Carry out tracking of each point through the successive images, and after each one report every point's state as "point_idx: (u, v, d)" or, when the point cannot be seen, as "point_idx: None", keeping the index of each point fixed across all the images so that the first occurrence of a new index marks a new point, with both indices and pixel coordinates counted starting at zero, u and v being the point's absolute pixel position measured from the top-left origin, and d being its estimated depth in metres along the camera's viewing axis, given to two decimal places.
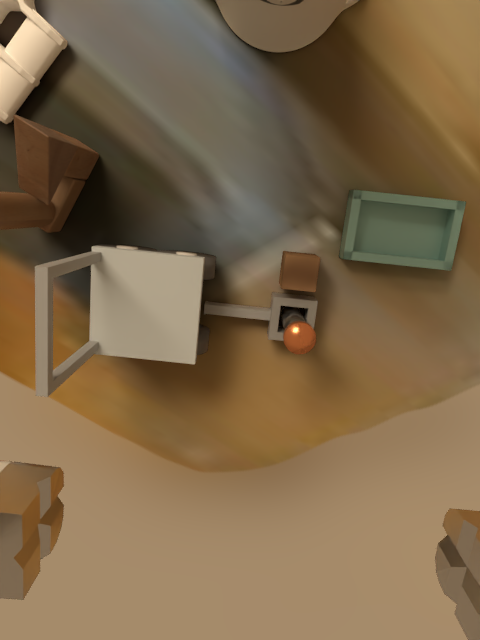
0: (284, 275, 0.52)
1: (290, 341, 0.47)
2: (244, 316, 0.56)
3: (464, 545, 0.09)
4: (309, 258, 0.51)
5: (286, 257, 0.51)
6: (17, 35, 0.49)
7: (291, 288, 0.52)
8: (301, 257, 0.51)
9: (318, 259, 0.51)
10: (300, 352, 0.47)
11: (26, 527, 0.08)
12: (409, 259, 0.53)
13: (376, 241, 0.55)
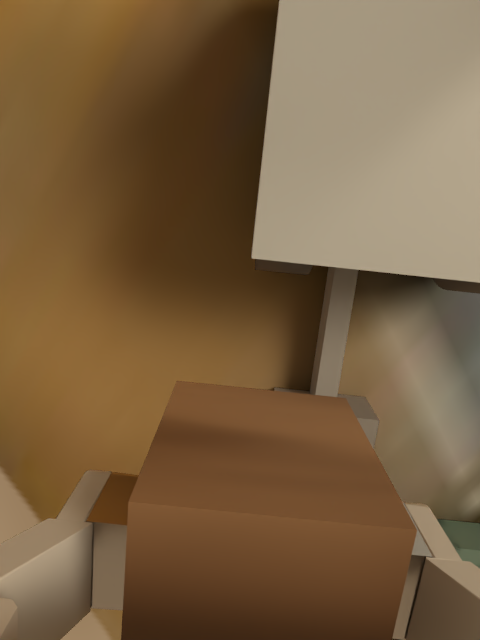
0: (385, 620, 0.07)
1: None
2: (325, 349, 0.24)
3: None
4: None
5: None
6: None
7: (333, 530, 0.06)
8: None
9: None
10: None
11: None
12: None
13: None
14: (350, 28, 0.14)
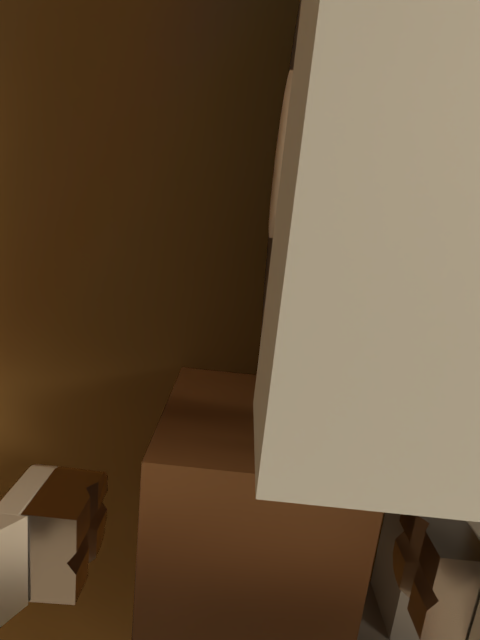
0: (363, 567, 0.08)
1: None
2: None
3: (417, 540, 0.09)
4: None
5: None
6: None
7: None
8: None
9: None
10: None
11: (78, 533, 0.08)
12: None
13: None
14: None
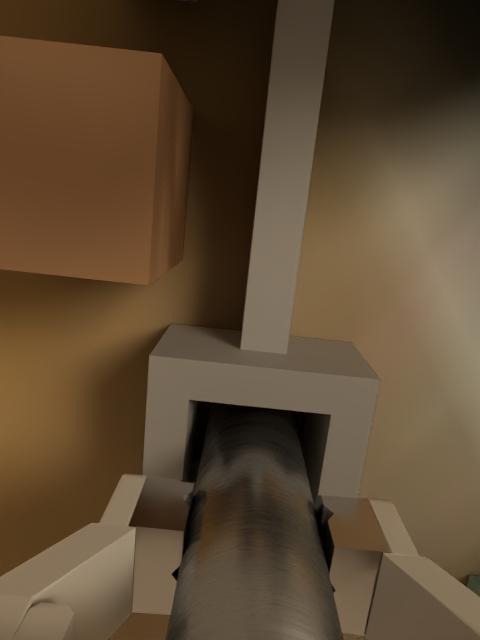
0: (147, 150, 0.08)
1: None
2: (261, 223, 0.11)
3: (324, 531, 0.09)
4: (4, 260, 0.08)
5: (143, 266, 0.08)
6: None
7: (93, 54, 0.08)
8: (53, 266, 0.09)
9: None
10: None
11: (183, 544, 0.08)
12: None
13: None
14: None
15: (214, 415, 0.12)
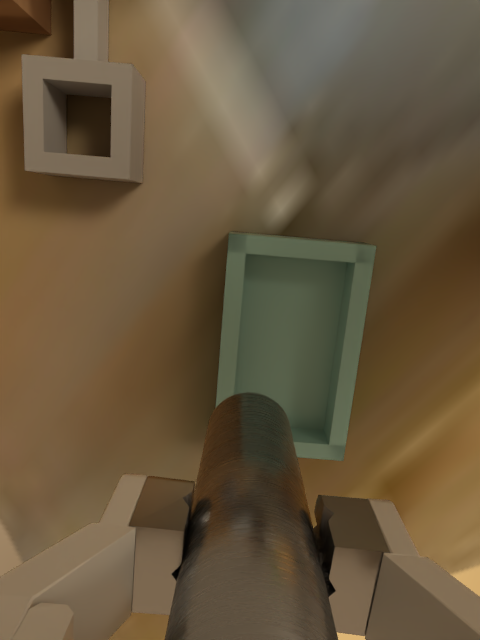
0: None
1: None
2: None
3: (324, 530, 0.09)
4: None
5: None
6: None
7: None
8: None
9: None
10: None
11: (183, 544, 0.08)
12: (232, 371, 0.26)
13: (264, 304, 0.27)
14: None
15: (212, 430, 0.12)
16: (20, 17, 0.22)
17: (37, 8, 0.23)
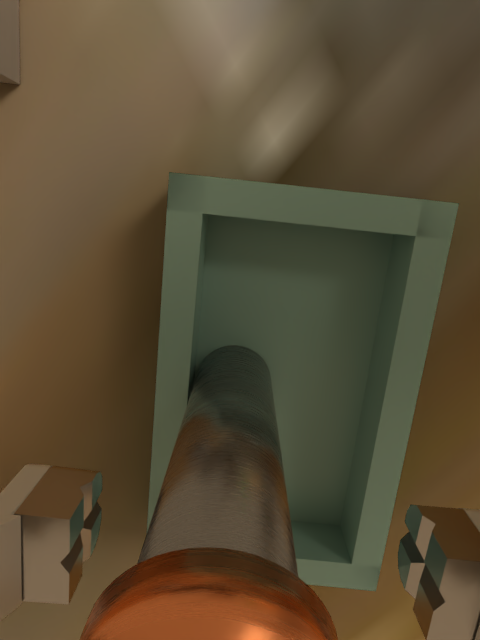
0: None
1: None
2: None
3: (422, 540, 0.09)
4: None
5: None
6: None
7: None
8: None
9: None
10: None
11: (72, 533, 0.08)
12: (177, 434, 0.14)
13: (241, 312, 0.15)
14: None
15: (199, 375, 0.14)
16: None
17: None
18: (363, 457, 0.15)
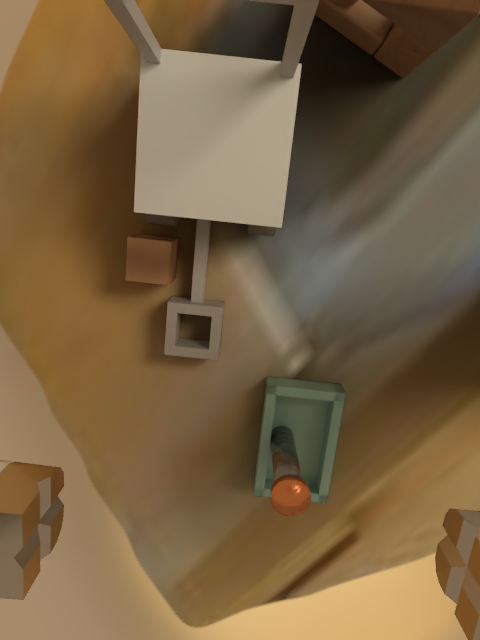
0: (168, 258, 0.41)
1: (287, 488, 0.38)
2: (195, 269, 0.44)
3: (464, 545, 0.09)
4: (138, 280, 0.41)
5: (167, 281, 0.41)
6: None
7: (158, 242, 0.41)
8: (148, 281, 0.41)
9: (127, 278, 0.41)
10: (273, 499, 0.38)
11: (25, 527, 0.08)
12: (266, 454, 0.48)
13: (284, 416, 0.49)
14: (169, 112, 0.34)
15: (273, 437, 0.47)
16: None
17: (173, 274, 0.44)
18: (322, 461, 0.49)
